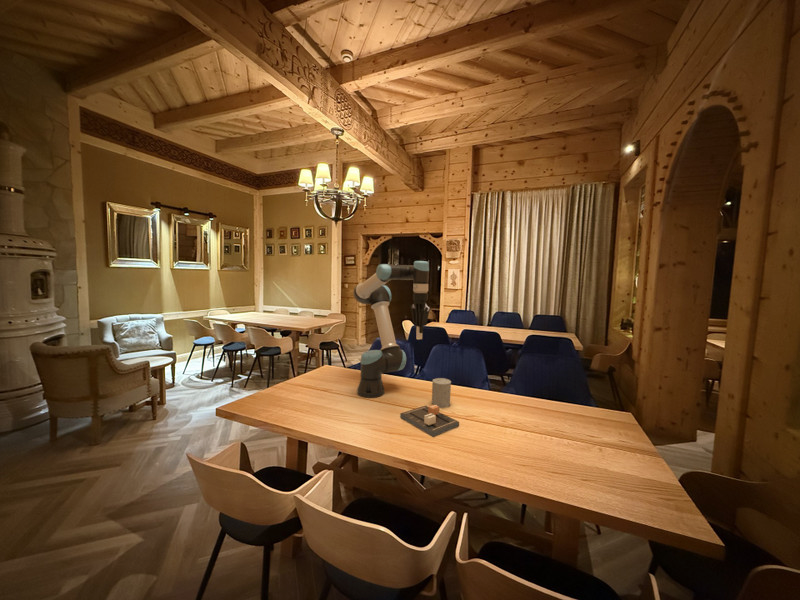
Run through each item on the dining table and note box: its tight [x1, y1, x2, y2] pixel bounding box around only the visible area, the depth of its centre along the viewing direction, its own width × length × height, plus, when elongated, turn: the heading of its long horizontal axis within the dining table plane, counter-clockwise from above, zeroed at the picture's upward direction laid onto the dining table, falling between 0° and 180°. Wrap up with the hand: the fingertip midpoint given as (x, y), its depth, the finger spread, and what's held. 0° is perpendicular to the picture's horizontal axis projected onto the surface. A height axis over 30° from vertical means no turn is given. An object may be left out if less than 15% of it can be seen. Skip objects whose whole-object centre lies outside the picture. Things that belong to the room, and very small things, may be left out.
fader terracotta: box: [428, 404, 440, 415], centre depth 149 cm, size 3×4×4 cm
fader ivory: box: [424, 414, 436, 425], centre depth 140 cm, size 3×4×4 cm
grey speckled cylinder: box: [431, 377, 452, 409], centre depth 166 cm, size 10×10×12 cm
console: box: [399, 405, 460, 438], centre depth 146 cm, size 22×16×2 cm
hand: (419, 339), depth 162 cm, fingers closed
